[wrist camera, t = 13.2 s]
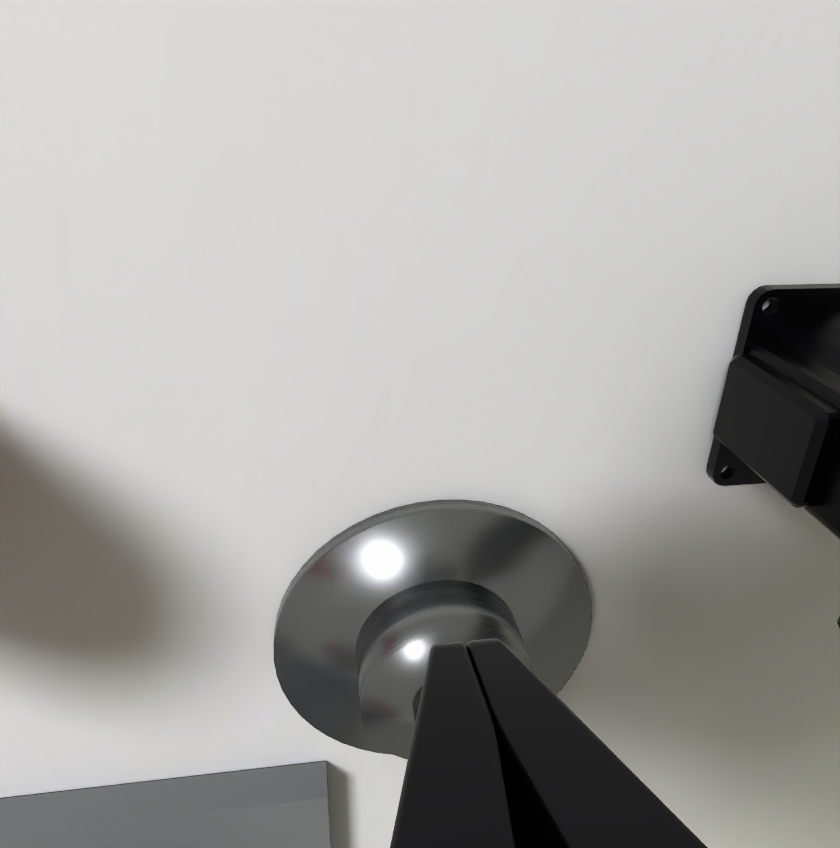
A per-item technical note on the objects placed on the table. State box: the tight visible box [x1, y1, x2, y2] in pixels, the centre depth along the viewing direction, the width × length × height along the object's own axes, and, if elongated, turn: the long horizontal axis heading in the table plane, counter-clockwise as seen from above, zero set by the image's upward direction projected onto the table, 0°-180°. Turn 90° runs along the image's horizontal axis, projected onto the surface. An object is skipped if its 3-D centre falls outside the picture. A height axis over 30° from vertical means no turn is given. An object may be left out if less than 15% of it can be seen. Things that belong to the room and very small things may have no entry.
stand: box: [274, 500, 592, 759], centre depth 21 cm, size 11×11×6 cm
